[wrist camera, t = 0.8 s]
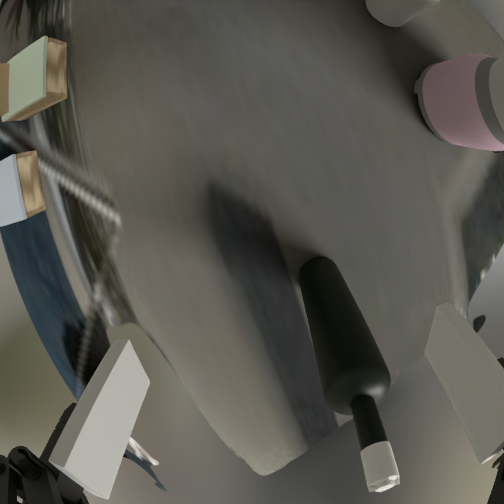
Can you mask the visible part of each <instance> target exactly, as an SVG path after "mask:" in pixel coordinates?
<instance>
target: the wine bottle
mask: <svg viewBox="0 0 504 504" xmlns="http://www.w3.org/2000/svg"><path fill="white" fill-rule="evenodd" d="M299 284H300V288H301V292H302V296H303V301H304V305H305V309H306V314H307V318H308V323H309V327H310V332H311V336H312V341H313V346H314V351H315V355H316V360H317V365H318V370H319V375H320V380H321V385H322V390H323V395H324V399H325V401H326V403H327V405H328V406H329V407H330V408H331V409H332V410H334V411H335V412H337V413H339V414H343V415H353V419H354V422H355V427H356V431H357V435H358V439H359V443H360V447H361V458H362V463H363V467H364V472H365V476H366V481H367V487H368V488H369V492H372V491H376V492H379V491H380V492H382V491H384V490H387V489H389V488H391V487H393V486H394V485H398V484H400V481H399V477H400V476H399V472H398V469H397V465H396V462H395V459H394V455H393V452H392V448H391V445H390V443H389V442H388V440H387V437H386V434H385V430H384V427H383V424H382V421H381V418H380V415H379V412H378V409H377V406H378V405H379V404H380V403H381V402H382V401H383V400H384V399H385V397H386V395H387V394H388V392H389V389H390V385H391V377H390V373H389V370H388V368H387V366H386V364H385V361H384V359H383V357H382V355H381V353H380V351H379V348H378V346H377V344H376V342H375V340H374V338H373V336H372V334H371V332H370V330H369V327H368V325H367V323H366V321H365V319H364V317H363V315H362V313H361V311H360V309H359V307H358V305H357V303H356V301H355V300H354V298H353V296H352V294H351V292H350V290H349V288H348V286H347V284H346V282H345V280H344V278H343V277H342V275H341V273H340V271H339V269H338V267H337V266H336V264H335V263H334V262H333V261H332V260H330V259H328V258H324V257H318V258H313V259H311V260H309V261H308V262H306V263H305V264H304V265H303V266H302V268H301V270H300V272H299Z"/></svg>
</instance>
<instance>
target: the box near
mask: <svg viewBox="0 0 504 504" xmlns="http://www.w3.org/2000/svg"><path fill="white" fill-rule="evenodd" d="M66 60H67V43H66V42H63V41H60V40H57V39H54V38H51V37H50V38H49V39H48V43H47V62H46V95H47V96H46V97H45V98H43V99H41V100H39V101H37V102H36V103H34V104H32V105H31V106H29V107H27V108H25V109H24V110H22V111H21V112H19V113H17V114H16V115H14V116H13V117H11V118H10V119H8V121H16V120H26V119H28V118H30V117H32V116H34V115H35V114H37V113H39V112H41V111H43V110H45V109H47V108H49V107H50V106H52V105H54V104H56V103H59V102H61V101H63V100H65V99H67V74H66Z"/></svg>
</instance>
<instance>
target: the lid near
mask: <svg viewBox="0 0 504 504" xmlns="http://www.w3.org/2000/svg"><path fill="white" fill-rule="evenodd" d="M47 43H48V36H43V37H42V38H40V39H39V40H37V41H36V42H34V43H33V44H31V45H30V46H28V47H27V48H25V49H24V50H23V51H21V52H20V53H18V54H17V55H16V56H14V57H13V58H12V59H10V60H9V61H8V62H7V63H0V116H2V122H4V121H7V120H8V119H10V118H11V117H13V116H14V115H16V114H17V113H19V112H21V111H22V110H24V109H25V108H27V107H29V106H31V105H32V104H34V103H36V102H37V101H39V100H41V99H43V98H45V97H46V96H47V95H46V62H47Z"/></svg>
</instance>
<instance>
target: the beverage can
mask: <svg viewBox="0 0 504 504" xmlns="http://www.w3.org/2000/svg"><path fill="white" fill-rule="evenodd" d="M439 1H440V0H366V6H367V9H368V11H369V12H370V13H371V15H372V16H373V17H374V18H375V19H376V20H378V21H379V22H381V23H383V24H385V25H387V26H390V27H401V26H403V25H404V24H406V23H407V22H409V21H410V20H412V19H413V18H415V17H416V16H418V15H419V14H421V13H422V12H424V11H425V10H427V9H428V8H430V7H431V6H433V5H434V4H436V3H438V2H439Z"/></svg>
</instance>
